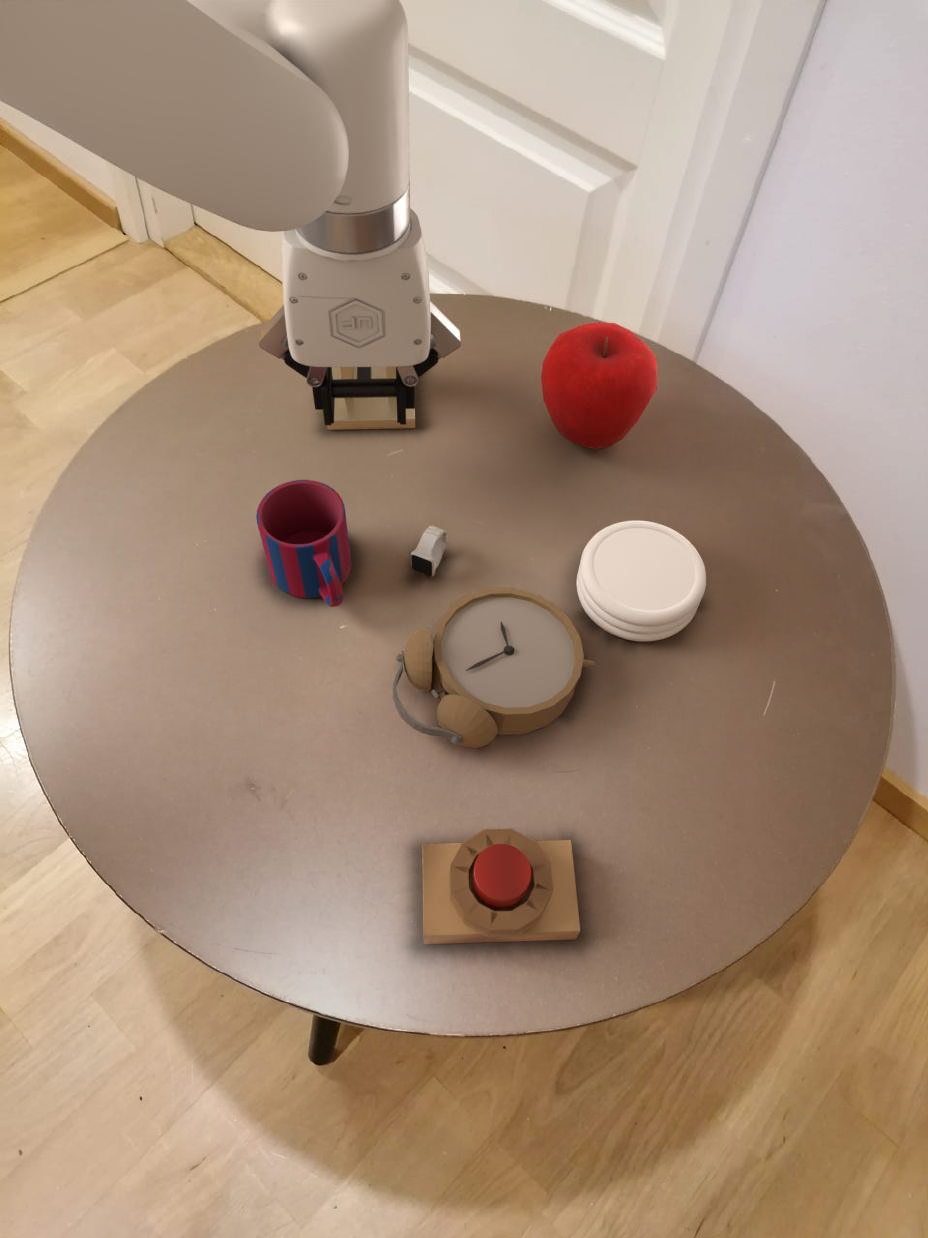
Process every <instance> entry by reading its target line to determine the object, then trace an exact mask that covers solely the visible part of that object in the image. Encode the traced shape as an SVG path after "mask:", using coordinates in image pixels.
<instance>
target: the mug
mask: <svg viewBox="0 0 928 1238" xmlns="http://www.w3.org/2000/svg"><path fill="white" fill-rule="evenodd" d="M255 517H256V524H257V528H258V532H259V536H260V540H261V544H262V548H263V553H264V557H265V559H266V563H267V567H268V571H269V576H270V578H271V580H272V581H273V583H274V585H275V586H276V587H277V588H278V589H279V590H281V591H282V592H284V593H286V594H288V595H290V596H293V597H295V598H300V599H314V598H321V597H322V599H323V601H324V602H325V603H326V604H327V606H329V607H331V608H334V607H339V606H340V605H342V604H343V601H344V592H343V586H342V585H343V584H344V582H346V580H347V579H348V577H349V574H350V573H351V568H352V556H351V555H352V554H351V547H350V540H349V530H348V523H347V515H346V508H345V503H344V501H343V498H342V497H341V495H340V494H339V493H338V492H337V491H336V490H335V489H334V488H332V487H331V486H329V485H328V484H325V483H324V482H320V481H317V480H312V479H296V480H291V481H286V482H284V483H281V484H279V485H277V486H275V487H274V488H272V489H270V490H269V491H268V492H267V493H266V494H265V495H264V496H263V498H261V501H260V502H259V504H258V507H257V510H256V516H255Z"/></svg>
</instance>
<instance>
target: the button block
mask: <svg viewBox="0 0 928 1238" xmlns="http://www.w3.org/2000/svg"><path fill="white" fill-rule="evenodd" d="M495 844H509V845H512V846H514V847H516V848H518V849H519V850H521V851H522V852H523V853H524V854H525V856H526V857H527V859H528V861H529V863H530V866H531V880H530V883H529V887H528V890H527V892H526V894H525V896H524V897H523V899H522V900H521V901H520V902H518V903H517V904H515V905H513V906H510V907H506V908H498V907H493V906H491V905H488V904H487V903H485V902H484V901H483V900H482V899H481V898H480V897H479V896H478V895H477V893H476V891H475V889H474V885H473V872H474V865H475V862H476V859H477V857H478V856H479V854H480V853H481V852H482V851H483V850H484V849H486V848H487V847H489V846H492V845H495ZM421 863H422V865H421V866H422V871H421V873H422V927H423V928H422V929H423V930H422V931H423V932H422V933H423V934H422V935H423V945H441V944H442V945H443V944H473V943H502V942H503V943H504V942H509V943H510V942H535V941H536V942H539V941H540V942H541V941H566V940H569V941H570V940H577V938H578V936H579V934H580V932H581V923H580V922H581V921H580V914H579V913H580V912H579V904H578V894H577V884H576V883H577V882H576V873H575V863H574V854H573V846H572V839H557V840H556V839H555V840H535V839H533V838H530V837H528V836H527V835H525V834H523V833H521V832H519V831H517V830H515V829H513V828H486V829H483V830H482V831H480V832H478V833H476V834H474V835H473V836H471V837H469V838H468V839H466V840H465V841H463V842H447V843H446V842H445V843H443V842H442V843H422V844H421Z"/></svg>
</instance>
